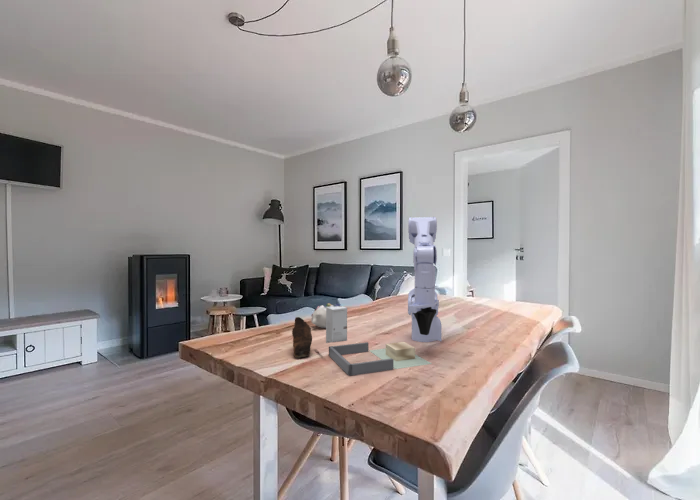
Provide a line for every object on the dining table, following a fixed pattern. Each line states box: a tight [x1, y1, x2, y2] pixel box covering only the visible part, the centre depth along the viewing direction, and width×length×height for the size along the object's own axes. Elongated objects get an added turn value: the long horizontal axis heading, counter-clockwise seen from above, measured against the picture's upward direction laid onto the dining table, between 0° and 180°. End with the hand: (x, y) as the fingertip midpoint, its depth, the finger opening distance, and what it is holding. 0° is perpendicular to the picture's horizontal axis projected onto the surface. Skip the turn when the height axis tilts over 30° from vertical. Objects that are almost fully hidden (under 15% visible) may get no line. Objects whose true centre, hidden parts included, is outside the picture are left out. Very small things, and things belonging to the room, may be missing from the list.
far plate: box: [368, 347, 432, 370], centre depth 93 cm, size 11×16×2 cm
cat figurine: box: [311, 302, 335, 329], centre depth 134 cm, size 10×8×15 cm
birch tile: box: [385, 341, 416, 361], centre depth 93 cm, size 6×6×3 cm
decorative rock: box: [291, 316, 313, 359], centre depth 101 cm, size 12×6×11 cm, turn 6°
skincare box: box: [325, 305, 348, 344], centre depth 110 cm, size 6×4×12 cm
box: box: [328, 341, 394, 377], centre depth 89 cm, size 12×16×4 cm
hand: (424, 334), depth 96 cm, fingers closed
